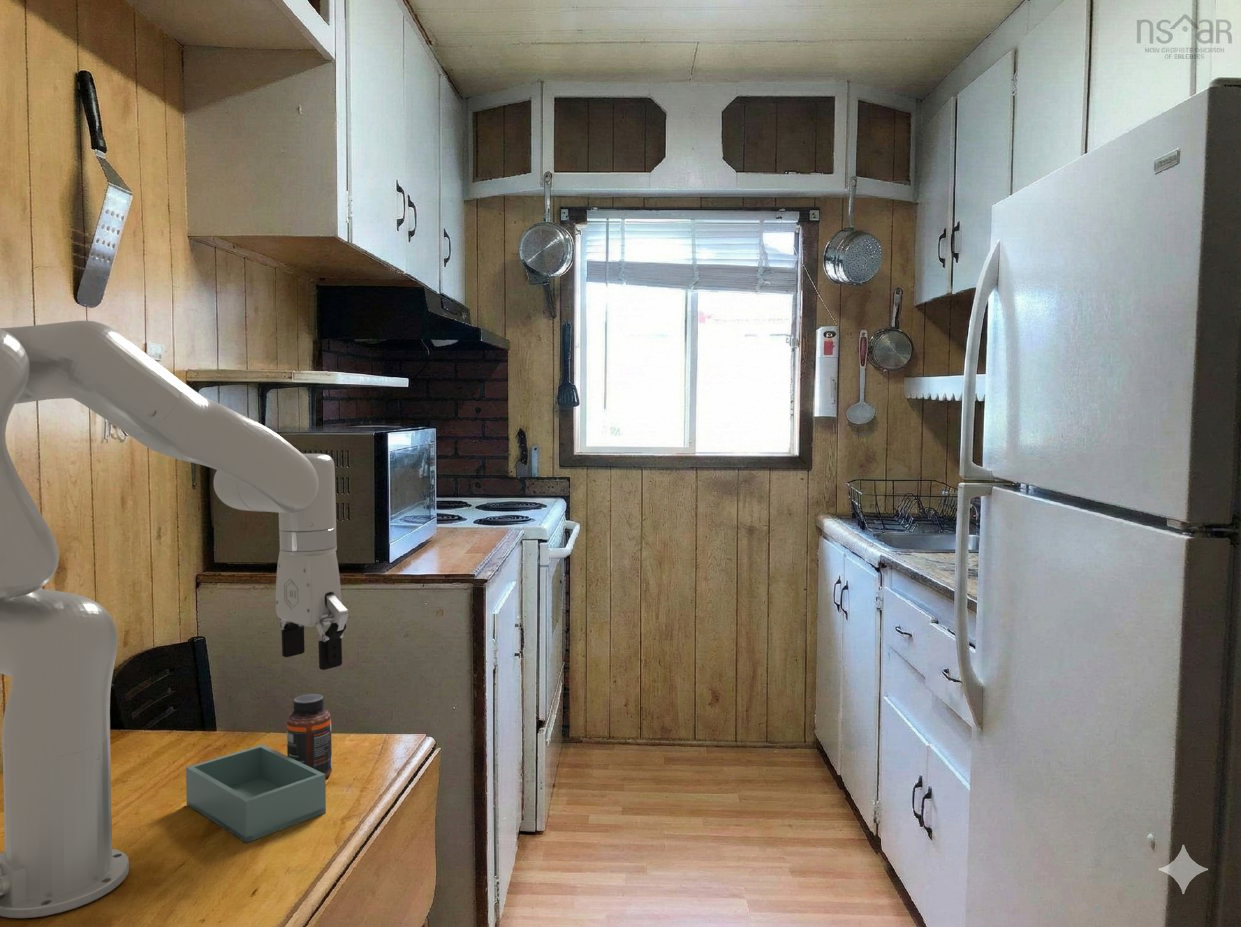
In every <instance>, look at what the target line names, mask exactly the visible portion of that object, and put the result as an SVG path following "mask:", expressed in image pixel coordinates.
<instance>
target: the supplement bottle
mask: <svg viewBox="0 0 1241 927" xmlns="http://www.w3.org/2000/svg"><path fill="white" fill-rule="evenodd" d="M324 706H325V702H324V696H323V695H322V694H319V693H308V694H303V695H299V696H297V697H295V698H294V699H293V706H292V707H293V711H292V712H291V713H290V714H289V715H288V716H287V719H286V748H287V749H286V750H287V751H286V752H287V755H286V756H288V757H290V758H292V759H294V760H296V761H298V762H301V763H303V764H305V765H307V766H309V767H311V768H313V769H315V770H317V771H319V772H322V773H324V774H325V779H326V778H328V777H329V776H330V775H331V773H332V770H333V768H332V767H333V759H332V758H333V756H332V753H333V752H332V751H333V750H332V748H333V747H332V746H333V745H332V742H333V741H332V716H331V715H332V714H331V713H330V711H329V710H328V709H326V708H325V707H324Z"/></svg>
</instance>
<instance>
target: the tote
mask: <svg viewBox="0 0 1241 927" xmlns="http://www.w3.org/2000/svg"><path fill="white" fill-rule="evenodd" d="M185 775H186V776H185V777H186V778H185V779H186V781H185V782H186V786H185V787H186V790H185V791H186V806H188V807H189V806H190V809H192V808H193V809H192V810H193V811H195V810H196V811H195V812H199V813H198V814H201V815H202V816H203V817H205V818H206V817H207V819H208V820H209V819H210V821H211V822H212V823H214V824H215V825H217V826H219V827H221V828H222V829H224V830H225V831H227V832H228V833H230V834H231V835H233V836H235V837H236V838H237V839H239V840H240V841H242V842H244V843H246V844H249V843H251V842H253V841H255V840H258V839H261V838H265V837H267V836H269V835H272V834H274V833H276V832H279V831H282V830H285V829H288V828H289V827H292V826H295V825H298V824H301V823H303V822H305V821H308V820H311V819H314V818H316V817H319V816H321V815H324V814H326V813H327V812H326V810H327V809H326V808H327V803H326V802H327V800H326V799H327V798H326V797H327V795H326V794H327V793H326V792H327V791H326V786H327V785H326V778H325V774H324V773H322V772H319V771H317V770H315V769H313V768H311V767H309V766H307V765H305V764H303V763H301V762H298V761H296V760H294V759H292V758H290V757H288V756H287V755H286V754H284V753H282V752H279V751H277V750H276V749H273V748H271V747H269V746H267V745H265V744H260V745H256V746H253V747H249V748H247V749H243V750H239V751H236V752H234V753H233V752H232V753H229V754H226V755H223V756H220V757H215V758H213V759H210V760H206V761H203V762H200V763H196V764H193V765H190V766H187V767H185Z"/></svg>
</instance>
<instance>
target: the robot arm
mask: <svg viewBox="0 0 1241 927" xmlns="http://www.w3.org/2000/svg"><path fill="white" fill-rule="evenodd" d="M55 399H56V400H60V399H63V400H64V399H73V400H75V401H76V402H79V403H80V404H81V405H83V406H85V407H86V408H88V409H89V410H91V411H92V412H94V413H95V414H97V415H98V416H100V417H102V418H103V419H105V421H107V422H109V423H110V424H112V425H114V427H116V428H118V430H120V431H122V432H124V433H125V434H127V435H128V436H129V437H131V438H132V439H134V440H135V441H136V442H139V443H140V444H141V445H143V446H144V447H146V448H148V449H149V450H152V451H153V452H156V453H159V454H161V455H163V456H164V455H165V456H166V457H170V458H173V459H176V460H180V461H184V462H188V463H193V464H197V465H201V466H205V467H207V468H210V469H214V470H216V472H215V473H214V477H213V489H214V492H215V494H216V496H217V497H218V499H219V500H220V501H221V502H222V503H223V504H225V505H226V506H228V507H230V508H233V509H236V510H239V511H247V512H248V511H249V512H260V513H261V512H269V513H278V529H279V530H278V531H279V533H278V534H279V554H278V559H277V567H276V577H275V578H276V579H275V582H276V583H275V596H274V600H275V613H276V615H277V617H278V618H279V629H280V630H281V654H282V655H281V656H282V657H283V658H289V657H294V656H298V655H301V654H304V653H305V648H306V647H305V627H307V628H311V627H313V626H315V627H316V629H317V632H318V635H319V637H320V639H321V640H318V667H319V669H320V670H322V671H325V670H329V669H333V668H337V667H340V666H342V664H343V652H342V651H343V650H342V649H343V648H342V646H343V645H342V639H343V638H344V635H345V634H344V633H345V631H346V628H347V621H348V617H349V609H347V608H346V606H344V605H343V603H342V591H341V590H342V588H341V578H340V571H339V563H338V562H339V561H338V558H337V552H336V551H337V549H338V548H337V547H338V546H337V508H336V506H337V504H336V503H337V502H336V501H337V500H336V474H335V473H336V471H335V470H336V468H335V462H334V459H333V458H332V457H331V456H330V455H329V454H325V453H302V452H301V451H299V450H298V449H297V448H296V447H294V446H293V445H292V444H291V443H290V442H288V441H287V440H286V439H285V438H283V437H282V436H280V435H279V434H278V433H277V432H275V431H273V430H272V429H270V428H268V427H267V426H265V425H263V424H261V423H259V422H258V421H256V420H253V419H252V418H249V417H248V416H245V415H243V414H240V413H239V412H236V411H235V410H233V409H231V408H229V407H227V406H225V405H223V404H222V403H219V402H217V401H214V400H212V399H210V398H208V397H206V396H204V395H202V394H201V393H199V392H197V391H196V390H195V389H193V388H192V387H190V386H189V385H187V384H186V383H185V382H183V381H182V380H181V379H180V378H178V376H176V375H175V374H173V373H172V372H171V371H169V370H168V369H167V368H165V367H164V366H162V364H161V363H159V362H158V361H157V360H155V359H154V358H153V357H151V356H150V355H149V354H148V353H146V352H145V351H144V350H142V349H141V348H140V347H138V346H137V345H136V344H134V343H133V341H131V340H130V339H128V338H127V337H125V336H124V335H123V334H122V333H120V332H118V331H117V330H115V329H113V327H110V326H109V325H106V324H104V323H101V322H97V321H93V320H71V321H70V320H69V321H64V322H63V321H62V322H53V323H46V324H45V323H44V324H37V325H27V326H14V327H13V326H12V327H0V674H1V675H4V676H8V677H10V678H11V685H10V690H9V696H8V698H7V701H6V705H5V709H4V713H3V714H4V715H3V719H2V720H3V721H2V728H1V729H2V732H1V736H2V737H1V747H2V771H3V772H2V778H3V814H4V818H3V819H4V822H3V824H4V851H3V852H0V917H3V918H4V917H5V918H10V919H30V918H32V919H33V918H39V917H47V916H51V915H55V914H60V913H64V912H67V911H70V910H73V909H74V910H75V909H77V908H79V907H82V906H85V905H87V904H89V903H92V902H94V901H96V900H98V899H99V898H100V899H101V898H102V897H103V896H105V895H107V894H109V893H110V892H112V891H113V890H114V889H115V888H117V887H118V886H119V885H120V884H122V882H123V881H125V879H126V877H128V874H129V872H130V860H129V859H130V858H129V857H128V855H127V854H126V853H124V852H123V851H121V850H118V849H117V848H116V849H115V848H113V821H112V820H113V819H112V818H113V817H112V816H113V815H112V773H111V772H112V769H111V768H112V767H111V765H112V764H111V761H112V760H111V714H110V713H111V711H110V710H111V691H112V690H111V688H112V682H113V674H114V669H115V664H116V659H117V653H118V645H119V643H118V642H119V640H118V639H119V637H118V628H117V626H116V622H115V621H114V619H113V617H112V616H111V614H110V612H109V611H108V610H107V609H106V608H105V607H103V605H101V604H100V603H98V602H96V601H95V600H93V599H91V598H89V597H86V596H83V595H79V594H77V593H71V592H65V591H59V590H53V589H45V588H44V586H45V585H46V584H48V582H49V581H51V579H52V578H53V576H54V575H55V573H56V571H57V569H58V566H59V561H60V554H59V553H60V552H59V546H58V544H57V541H56V539H55V536H54V534H53V531H52V530H51V529H50V527H49V525H48V523H47V522H46V520H45V518H44V517H43V515H42V513H41V511H40V510H39V508H38V506H37V504H36V503H35V501H34V500H33V497H32V496H31V494H30V492H29V491H28V489H27V487H26V486H25V484H24V482H23V480H22V478H21V477H20V475H19V473H18V471H17V468H16V466H15V464H14V462H13V460H12V458H11V456H10V453H9V451H8V445H7V441H6V432H7V424H8V420H9V418H10V417H9V416H10V414H11V413H12V411H13V408H14V406H15V404H16V405H18V404H24V403H25V404H26V403H33V402H40V401H47V400H55ZM42 587H43V588H42ZM328 625H329V627H328V628H326V626H328Z"/></svg>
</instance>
